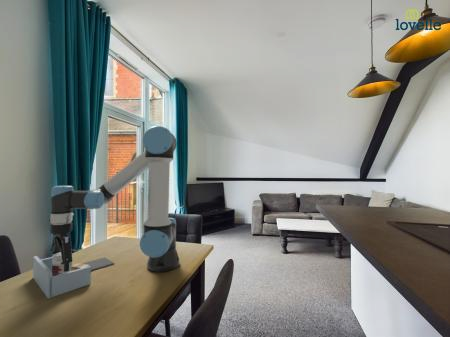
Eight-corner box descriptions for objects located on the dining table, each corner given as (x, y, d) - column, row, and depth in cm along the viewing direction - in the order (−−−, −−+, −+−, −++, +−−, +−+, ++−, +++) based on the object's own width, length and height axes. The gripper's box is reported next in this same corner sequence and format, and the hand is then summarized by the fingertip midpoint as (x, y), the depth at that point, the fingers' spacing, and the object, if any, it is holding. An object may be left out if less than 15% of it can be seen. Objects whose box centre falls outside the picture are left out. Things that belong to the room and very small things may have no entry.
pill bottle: (59, 285, 91) (59, 257, 91) (48, 283, 93) (48, 255, 93) (73, 278, 97) (73, 251, 97) (62, 276, 99) (63, 250, 99)
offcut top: (89, 269, 102) (89, 264, 102) (82, 272, 98) (82, 268, 98) (78, 267, 104) (78, 263, 104) (70, 270, 100) (71, 266, 100)
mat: (114, 264, 112) (114, 262, 112) (89, 271, 104) (89, 270, 104) (104, 258, 119) (104, 257, 119) (81, 264, 111) (81, 263, 111)
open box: (90, 283, 93) (90, 261, 93) (47, 298, 82) (48, 273, 82) (71, 267, 108) (71, 248, 108) (33, 277, 98) (33, 256, 98)
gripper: (82, 226, 90) (81, 280, 90) (63, 217, 106) (62, 262, 106) (59, 229, 84) (58, 287, 84) (43, 219, 100) (41, 267, 100)
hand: (60, 273), depth 95 cm, fingers open, 13 cm apart
